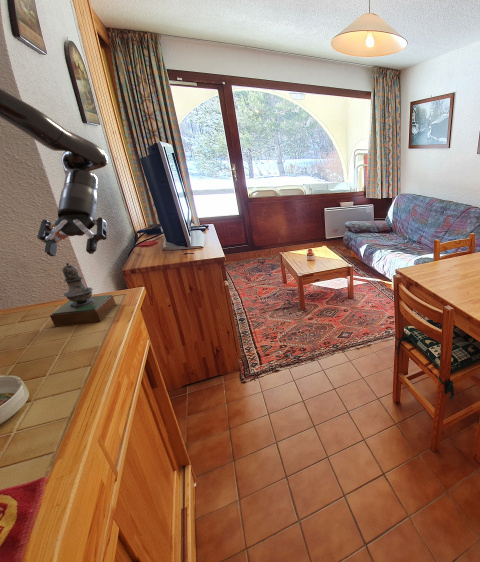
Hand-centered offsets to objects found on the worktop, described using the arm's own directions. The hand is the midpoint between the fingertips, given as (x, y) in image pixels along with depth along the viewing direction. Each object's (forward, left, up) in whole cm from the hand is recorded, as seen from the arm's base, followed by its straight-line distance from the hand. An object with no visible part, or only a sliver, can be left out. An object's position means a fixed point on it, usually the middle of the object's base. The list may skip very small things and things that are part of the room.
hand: (70, 253), depth 83 cm
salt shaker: (0, -3, -14) cm, 14 cm away
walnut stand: (0, -3, -17) cm, 17 cm away
